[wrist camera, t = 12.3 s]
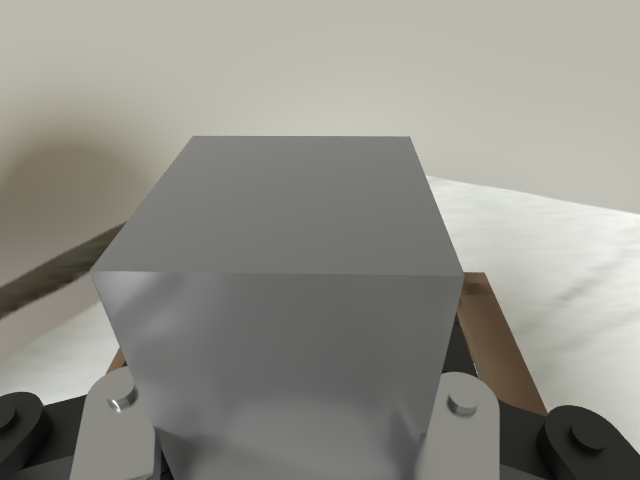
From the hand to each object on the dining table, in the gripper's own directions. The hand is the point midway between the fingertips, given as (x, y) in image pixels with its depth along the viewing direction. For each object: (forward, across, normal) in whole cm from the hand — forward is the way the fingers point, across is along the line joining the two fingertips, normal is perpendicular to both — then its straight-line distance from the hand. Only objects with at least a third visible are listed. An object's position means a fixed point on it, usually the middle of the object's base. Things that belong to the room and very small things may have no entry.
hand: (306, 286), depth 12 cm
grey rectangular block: (-3, 0, +6) cm, 7 cm away
